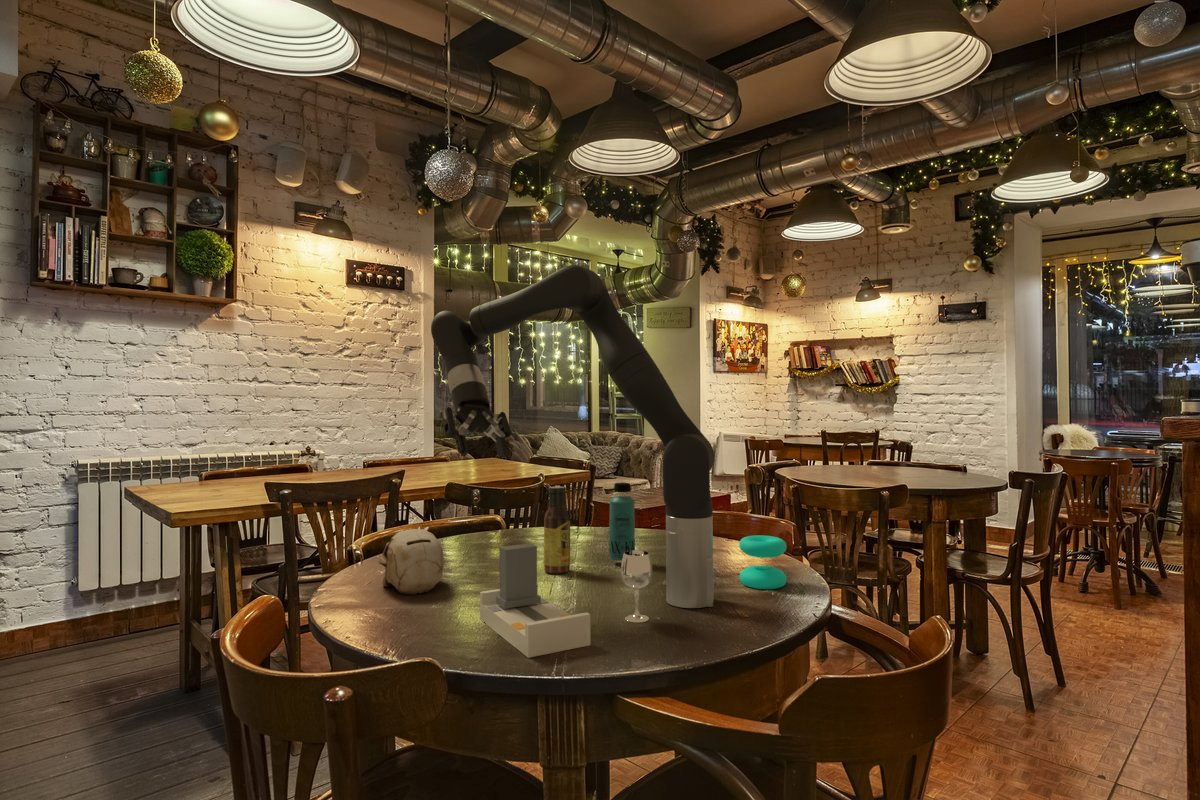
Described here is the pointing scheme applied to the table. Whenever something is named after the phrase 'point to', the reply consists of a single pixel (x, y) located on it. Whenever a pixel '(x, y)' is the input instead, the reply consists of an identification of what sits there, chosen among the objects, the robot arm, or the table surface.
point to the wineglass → (636, 577)
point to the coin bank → (412, 561)
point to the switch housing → (535, 625)
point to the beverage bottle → (621, 523)
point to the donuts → (763, 574)
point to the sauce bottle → (556, 533)
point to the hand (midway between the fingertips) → (484, 455)
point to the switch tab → (518, 576)
